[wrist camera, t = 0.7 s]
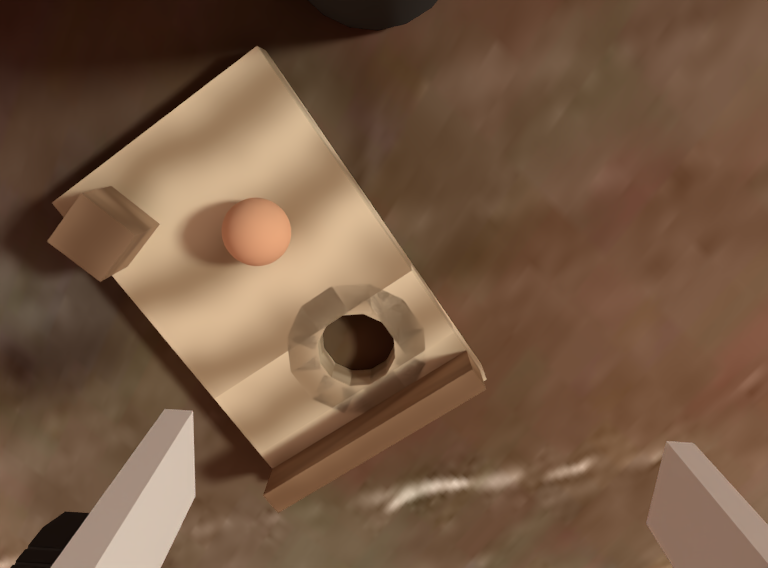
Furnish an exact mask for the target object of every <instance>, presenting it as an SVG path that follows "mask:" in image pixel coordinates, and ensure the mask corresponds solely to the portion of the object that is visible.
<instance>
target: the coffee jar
mask: <svg viewBox="0 0 768 568" xmlns="http://www.w3.org/2000/svg"><path fill="white" fill-rule="evenodd" d="M308 1H309V2H310V3H311V4H312V5H314V6H315V7H316V8H317V9H318V10H319V11H320V12H321V13H322V14H323V15H325V16H327V17H329V18H331V19H333V20H335V21H338V22H340V23H342V24H344V25H346V26H348V27H352V28H361V29H371V30H382V29H386V28H390V27H394V26H398V25H403V24H406V23H408V22H410V21H411V20H413V19H414V18H416V17H418V16H419V15H421V14H422V13H424V12H425V11H427V10H429V9H430V8H432V6H433V5H434V4H435V3H436V2H437V0H308Z"/></svg>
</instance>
